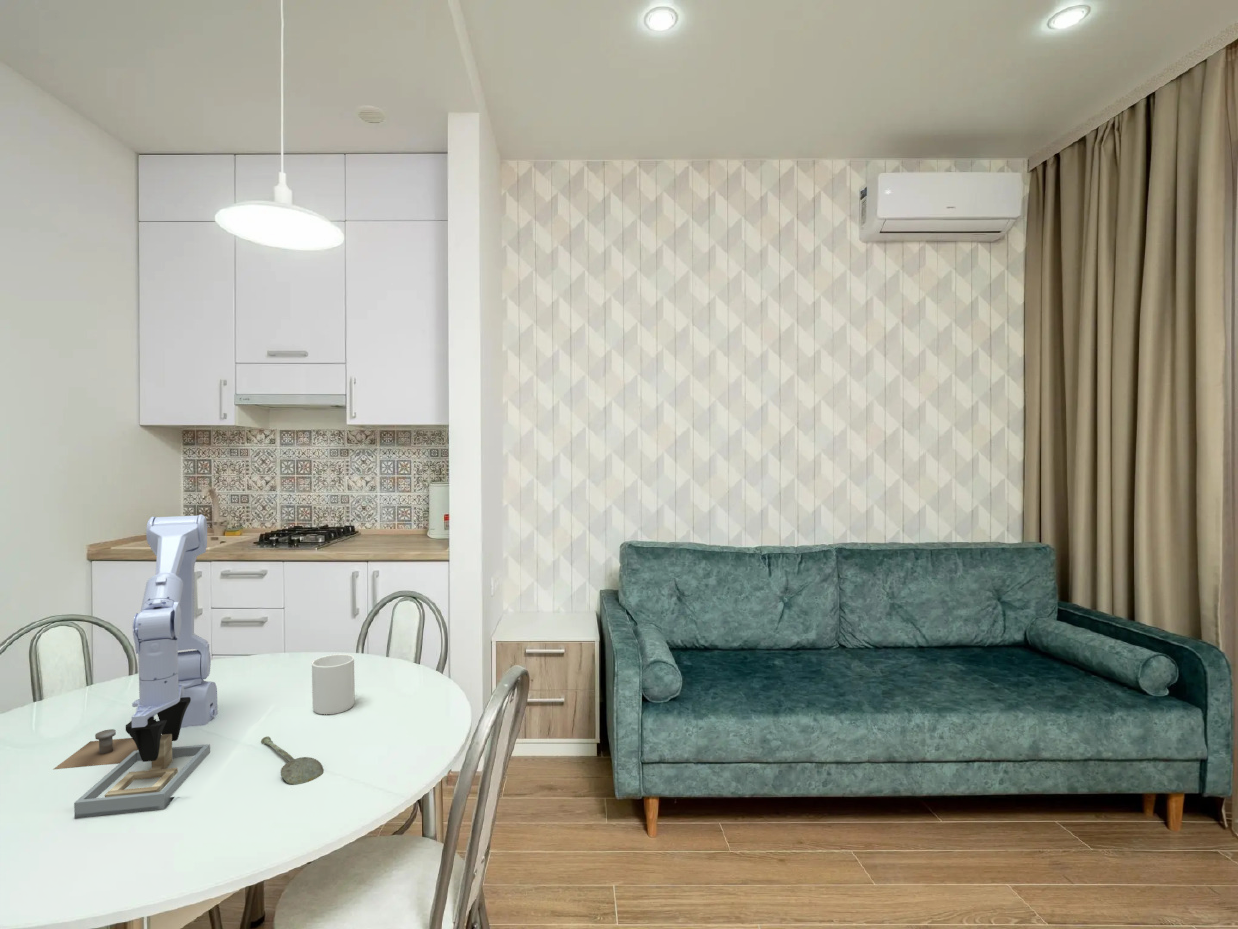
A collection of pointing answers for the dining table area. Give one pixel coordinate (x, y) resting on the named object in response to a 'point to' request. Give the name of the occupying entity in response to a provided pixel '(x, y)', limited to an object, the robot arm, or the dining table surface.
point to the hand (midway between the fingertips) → (160, 750)
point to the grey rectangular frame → (137, 802)
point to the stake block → (101, 751)
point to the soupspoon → (297, 766)
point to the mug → (333, 684)
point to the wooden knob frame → (149, 772)
